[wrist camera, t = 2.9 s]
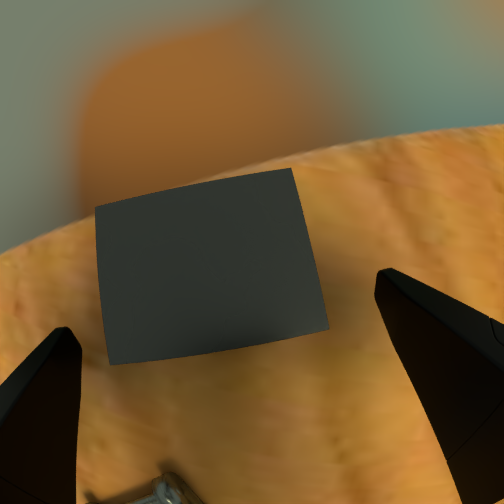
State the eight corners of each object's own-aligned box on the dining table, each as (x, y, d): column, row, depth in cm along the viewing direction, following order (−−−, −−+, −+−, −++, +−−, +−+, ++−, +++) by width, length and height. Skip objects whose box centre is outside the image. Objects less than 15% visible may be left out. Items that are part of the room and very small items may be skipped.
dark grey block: (279, 328, 17) (329, 329, 6) (196, 343, 16) (110, 365, 6) (266, 265, 17) (290, 167, 7) (186, 280, 17) (95, 207, 7)
